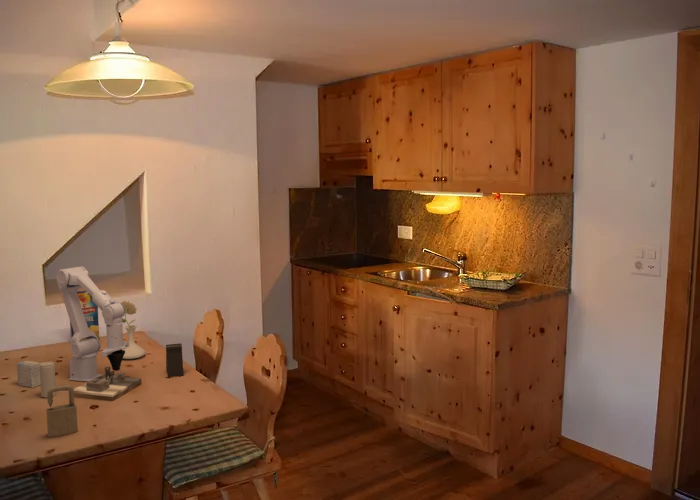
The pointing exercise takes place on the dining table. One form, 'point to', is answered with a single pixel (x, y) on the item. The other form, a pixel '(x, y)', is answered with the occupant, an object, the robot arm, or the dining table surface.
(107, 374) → the bolt
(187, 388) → the dining table surface
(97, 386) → the door and jamb
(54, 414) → the padlock
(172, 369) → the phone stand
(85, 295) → the juice carton
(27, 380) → the grey upright block
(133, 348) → the flower in vase
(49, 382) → the beige cylinder
